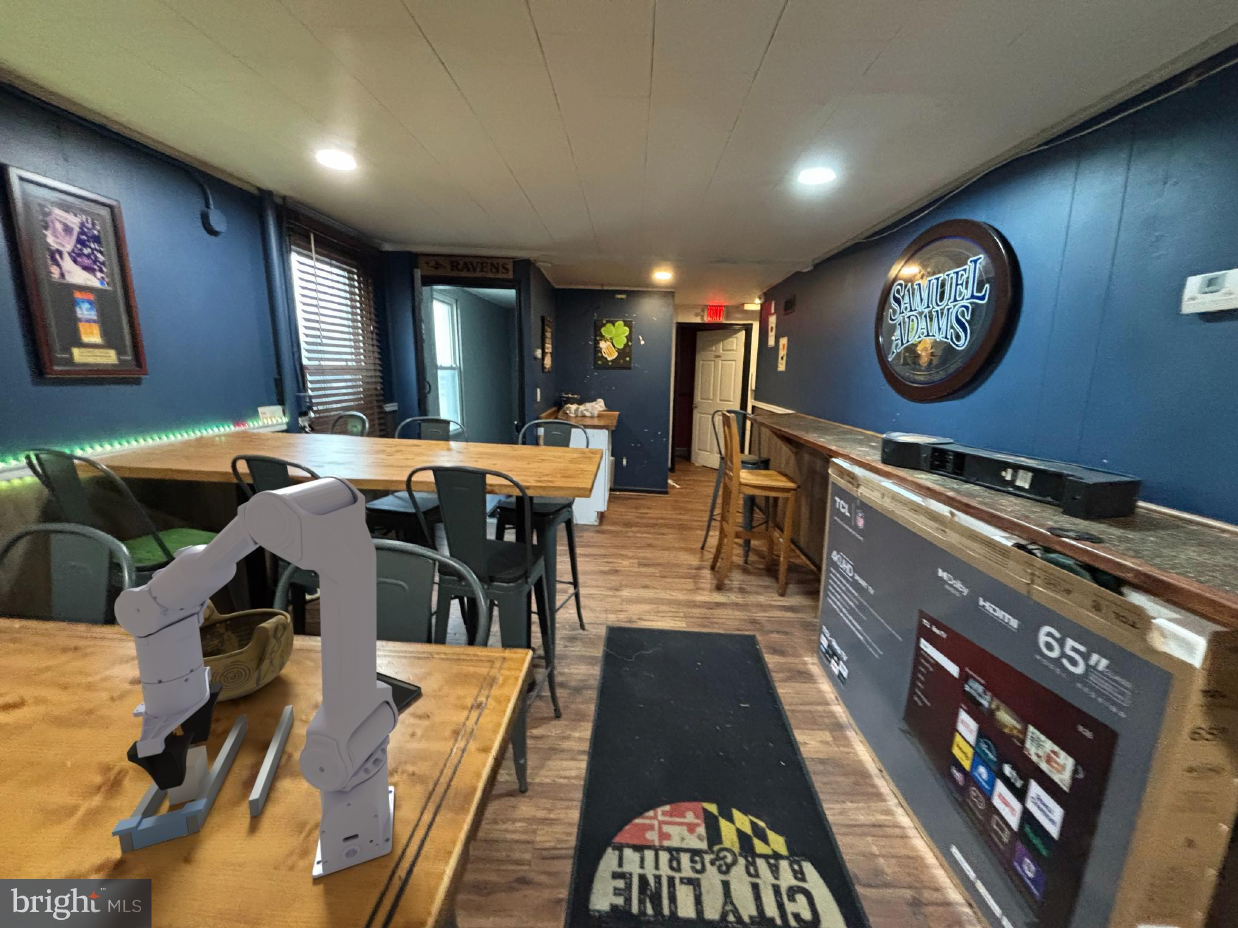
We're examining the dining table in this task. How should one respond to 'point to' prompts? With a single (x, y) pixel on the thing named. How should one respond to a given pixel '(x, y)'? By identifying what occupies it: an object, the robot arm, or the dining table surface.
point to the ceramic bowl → (245, 648)
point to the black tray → (400, 690)
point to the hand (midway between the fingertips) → (186, 762)
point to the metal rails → (201, 793)
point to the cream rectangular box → (191, 776)
